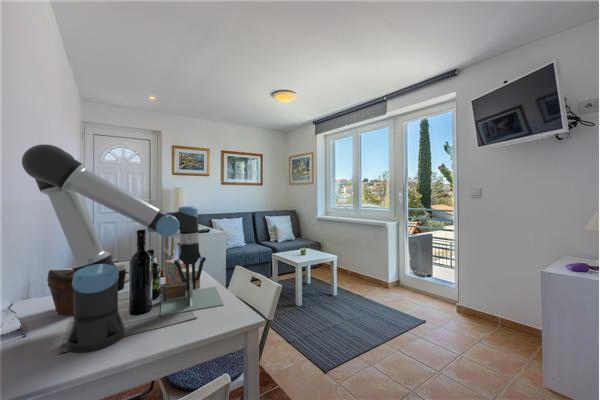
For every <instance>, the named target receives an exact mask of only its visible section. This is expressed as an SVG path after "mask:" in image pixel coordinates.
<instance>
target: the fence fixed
mask: <svg viewBox="0 0 600 400" xmlns="http://www.w3.org/2000/svg"><path fill="white" fill-rule="evenodd" d="M186 286H187V283H186V284H180V285H162V291H161V293H162V294H163V301H166V299H173V298H179V297H186V291H187V290H186ZM162 294H161V295H162Z"/></svg>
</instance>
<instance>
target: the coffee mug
mask: <svg viewBox="0 0 600 400" xmlns="http://www.w3.org/2000/svg"><path fill="white" fill-rule="evenodd" d="M117 268H118V271H119V278H118V292H119V291H122V290H124V289H125V284H126V283H127V282H129V281H130V280H129V279H127V280H126V275H127V274H130V273H129V272H130V271H127V267H124V266H117ZM125 280H126V281H125Z"/></svg>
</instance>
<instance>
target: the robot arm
mask: <svg viewBox="0 0 600 400" xmlns="http://www.w3.org/2000/svg"><path fill="white" fill-rule="evenodd" d="M21 165H22V169H23V170H24V172H26V174H27V175H28V176H30V177H31V178H33V179H34V181H35V182H36V185H37V187H38V189H39V192H40V193H42V194H44V195H47V196H48V199H49V201H50V203H51V205H52V208H53V210H54V212H55V215H56V217H57V219H58V222H59V225H60V227H61V229H62V232H63V234H64V237H65V239H66V241H67V244H68V247H69V249H70V251H71V254H72V256H73V259H74V262H73V264H72V266H71V268H72V269H71V270H73V271H74V275H73V280H72V286H73V308H74V314H73V323H72V325H71V328H70V332H69V335H68V336H67V341H66V348H67V350H68V351H69V352H71V353H86V352H92V351H98V350H100V349H103V348H107V347H109V346H111V345H114V343H116V342H118V341H120V340H121V339H122V338H124V336H125V332H126V328H125V327H126V326H125V324H124V323H125V322H124V321H123V319H122V317H121V315H120V312H119V293H118V292H119V291H118V278H119V271H118V268H117V267H118V266H117V265H116V264H115V262H114V260H113V257H112V255H111V252H108V251H105V250H104V248H103V245H102V243H101V239H100V238H99V236H98V232H97V230H96V228H95V225H94V222H93V219H92V217H91V215H90V213H89V212H90V211H89V210H88V208H87V204H86V202H85V199H84V197H85V198H88V199H89V200H92V201H93V202H96V203H97V204H98V205H102V206H103V207H105V208H108V209H110V210H111V211H113V212H116V213H117V214H120V215H121V216H124V217H126V218H127V219H130V220H132V221H135V222H136V223H137V224H140V225H142V226H144V227H146V230H147V232H148V233H158V235H160V236H163V237H172V236H174V235H176V234H177V233H178V232H179V243H180V244H179V256H178V258H176V259H177V260H174V264H175V265H176V266H177V268H178V271H179V274H180V277H181V280H182V282H186V283H187V290H190V298H193V289H194V290H196V289H195V288H196V286H195V282H196V281H197V280H199V279H200V280H201V275H202V271H203V267H204V263H205V261H206V259H207V258H206V257H205V256H203V255H201V252H200V242H199V241H200V240H199V239H200V238H199V214H198V208H197V206H195V205H194V206H193V205H191V206H190V205H188V206H180V207H178V211H174V212H172V211H171V212H166V211H164V210H162V209H160V208H158V207H157V206H155V205H153V204H151V203H150V202H147V201H146V200H143V199H142V198H140V197H138V196H136V195H135V194H132V193H130V192H129V191H127V190H125V189H123V188H121V187H119V186H118V185H115V184H114V183H112V182H111V181H108V180H107V179H105V178H103V177H101V176H99V175H97V174H95V173H94V172H93V171H90V170H88V169H87V168H86V167H85V164H83V163H82V162H80V161H78V160H77V159H75V157H74V156H73V155H71V154H70V153H69V152H67V151H65V150H64V149H62V148H61V147H58V146H56V145H54V144H36V145H34V146H32V147H30V148H27V150H26V151H25V152H24V153H23V155H22V158H21ZM180 260H181V261H182V262H183V263H184V264H185V265H186V278H184V275H183V272H182V269H181V266H180ZM198 261H199V264H198V265H199V266H198V268H197V269H198V272H197V277H195V269H196V263H197V262H198ZM190 265H191V268H192V281H190V278H189V267H190ZM187 290H186V291H187Z"/></svg>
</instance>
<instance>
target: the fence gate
mask: <svg viewBox="0 0 600 400" xmlns="http://www.w3.org/2000/svg"><path fill="white" fill-rule="evenodd" d="M186 291H187V306H189V305H190V290H186Z"/></svg>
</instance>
